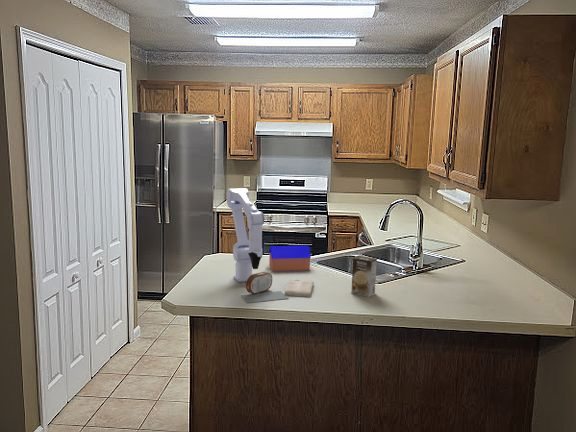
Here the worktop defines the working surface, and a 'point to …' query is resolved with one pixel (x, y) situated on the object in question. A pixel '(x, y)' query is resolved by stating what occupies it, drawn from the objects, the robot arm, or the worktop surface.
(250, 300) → the mat
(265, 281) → the tin
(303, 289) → the washcloth
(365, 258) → the coffee box
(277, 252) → the two-tone brick
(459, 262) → the worktop surface
